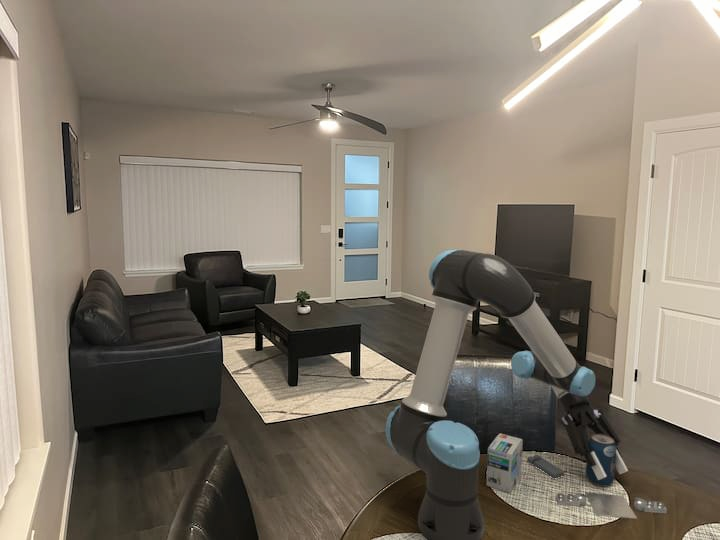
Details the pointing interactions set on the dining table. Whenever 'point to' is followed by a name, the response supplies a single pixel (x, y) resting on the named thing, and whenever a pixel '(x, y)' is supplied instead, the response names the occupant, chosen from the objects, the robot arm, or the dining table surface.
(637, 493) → the dining table surface
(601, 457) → the soda can
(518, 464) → the light bulb box
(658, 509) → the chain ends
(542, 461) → the bracket
